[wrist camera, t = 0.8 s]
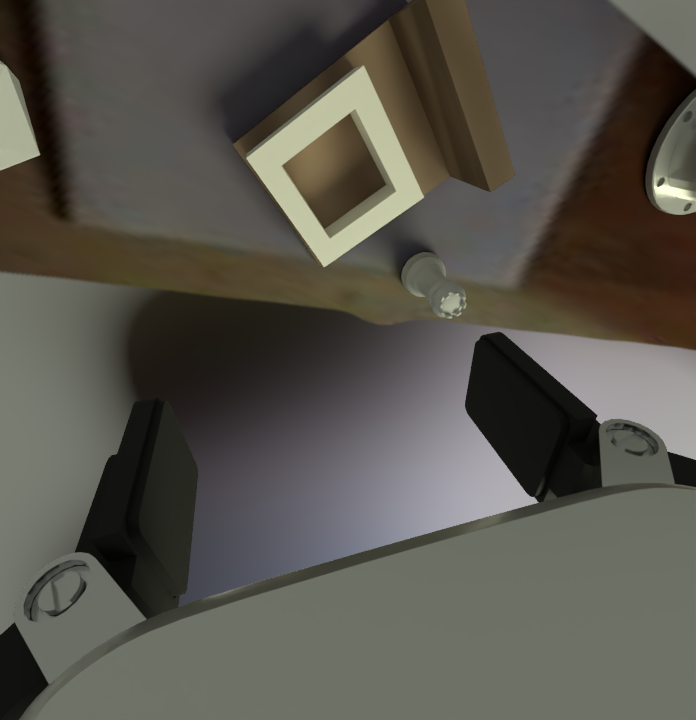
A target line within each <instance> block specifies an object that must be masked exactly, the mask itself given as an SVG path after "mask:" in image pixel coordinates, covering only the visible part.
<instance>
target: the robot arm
mask: <svg viewBox="0 0 696 720" xmlns="http://www.w3.org/2000/svg"><path fill="white" fill-rule="evenodd" d="M646 191H647V195H648V198H649V200H650V201H651V203H652V205H654V206H655V207H656V208H657V209H658V210H661V211H663V212H666V213H671V214H675V215H684V214H689V213H693V212H696V90H694V91H693V92H692V93H691V94H690V95H689V96H688V97H687V98H686V99H685V100H684V101H683V102H682V103H681V104H680V105H679V107H678V108H677V109H676V110H675V112H674V113H673V114H672V116H671V117H670V118H669V120H668V121H667V122H666V124H665V126H664V127H663V129H662V131H661V132H660V134H659V136H658V138H657V140H656V142H655V145H654V147H653V149H652V151H651V155H650V158H649V161H648V164H647V171H646ZM465 408H466V411H467V413H468V415H469V416H470V418H471V419H472V420H473V422H474V423H475V424H476V425H477V427H478V428H479V430H480V431H481V432H482V434H483V435H484V436H485V438H486V439H487V440H488V442H489V443H490V444H491V446H492V447H493V448H494V450H495V451H496V452H497V454H498V455H499V457H500V458H501V459H502V461H503V462H504V463H505V465H506V466H507V467H508V469H509V470H510V471H511V473H512V474H513V475H514V477H515V478H516V479H517V481H518V482H519V483H520V485H521V486H522V487H523V489H524V490H525V491H526V493H527V494H528V495H529V496H531V497H535V498H536V499H537V501H538V502H539V503H537V504H533V505H529V506H525V507H522V508H518V509H515V510H511V511H507V512H504V513H500V514H496V515H493V516H489V517H485V518H482V519H478V520H475V521H471V522H467V523H464V524H460V525H457V526H453V527H450V528H446V529H442V530H439V531H435V532H432V533H428V534H424V535H421V536H417V537H414V538H410V539H407V540H403V541H399V542H396V543H392V544H389V545H385V546H382V547H378V548H375V549H371V550H368V551H364V552H361V553H357V554H354V555H350V556H347V557H343V558H340V559H336V560H333V561H329V562H326V563H322V564H319V565H315V566H312V567H308V568H305V569H301V570H298V571H294V572H291V573H287V574H284V575H280V576H277V577H273V578H270V579H266V580H263V581H260V582H256V583H253V584H250V585H246V586H243V587H240V588H237V589H233V590H230V591H227V592H223V593H220V594H217V595H213V596H210V597H207V598H204V599H200V600H197V601H194V602H192V603H189V604H186V605H183V606H181V607H178V603H179V595H181V594H185V592H186V590H187V583H188V572H189V561H190V552H191V541H192V531H193V521H194V510H195V500H196V489H197V478H198V470H197V465H196V462H195V460H194V458H193V456H192V453H191V451H190V449H189V447H188V444H187V442H186V440H185V438H184V435H183V433H182V431H181V429H180V427H179V424H178V422H177V420H176V418H175V415H174V413H173V411H172V409H171V406H170V404H169V403H168V402H167V401H163V402H162V401H161V400H160V399H159V398H151V399H146V400H141V401H136V402H135V403H134V405H133V408H132V411H131V414H130V417H129V420H128V423H127V426H126V429H125V432H124V435H123V438H122V441H121V444H120V447H119V450H118V453H117V454H116V455H112V456H111V457H110V458H109V459H108V461H107V463H106V465H105V468H104V471H103V474H102V477H101V480H100V483H99V485H98V488H97V491H96V494H95V497H94V499H93V502H92V505H91V508H90V511H89V514H88V516H87V519H86V522H85V525H84V528H83V531H82V533H81V536H80V539H79V542H78V545H77V548H76V550H75V553H72V554H68V555H65V556H63V557H60V558H58V559H56V560H54V561H52V562H51V563H49V564H48V565H46V566H45V567H43V568H42V569H41V570H40V571H39V572H38V573H37V574H36V575H34V576H33V577H32V578H31V579H30V581H29V582H28V583H27V585H26V586H25V587H24V588H23V590H22V591H21V593H20V595H19V597H18V599H17V601H16V604H15V609H14V619H15V622H14V623H13V624H12V625H11V626H10V627H9V628H8V629H7V630H6V631H5V632H3V633H2V634H1V635H0V720H696V460H694V459H691V458H687V457H684V456H681V455H677V454H674V453H670V452H667V449H666V446H665V444H664V442H663V440H662V439H661V438H660V437H659V436H658V435H657V434H656V433H654V432H653V431H652V430H650V429H649V428H647V427H645V426H643V425H641V424H638V423H635V422H632V421H629V420H623V419H611V420H608V421H605V422H604V423H602V424H600V423H599V422H598V421H597V420H596V417H597V415H596V414H595V413H594V412H593V411H592V410H591V409H589V408H588V407H587V406H586V405H585V404H584V403H582V402H581V401H580V400H579V399H578V398H577V397H575V396H574V395H573V394H572V393H571V392H570V391H569V390H568V389H566V388H565V387H564V386H563V385H562V384H560V382H558V381H557V380H556V379H555V378H554V377H553V376H551V375H550V374H549V373H548V372H547V371H546V370H544V369H543V368H542V367H541V366H540V365H539V364H538V363H536V362H535V361H534V360H533V359H532V358H531V357H530V356H528V355H527V354H526V353H525V352H524V351H522V350H521V349H520V348H519V347H518V346H517V345H515V343H513V342H512V341H511V340H510V339H509V338H508V337H506V336H505V335H504V334H503V333H501V332H496V333H491V334H486V335H482V336H481V337H480V339H479V340H478V341H477V342H476V343H475V348H474V354H473V360H472V366H471V372H470V378H469V384H468V389H467V395H466V401H465Z"/></svg>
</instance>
